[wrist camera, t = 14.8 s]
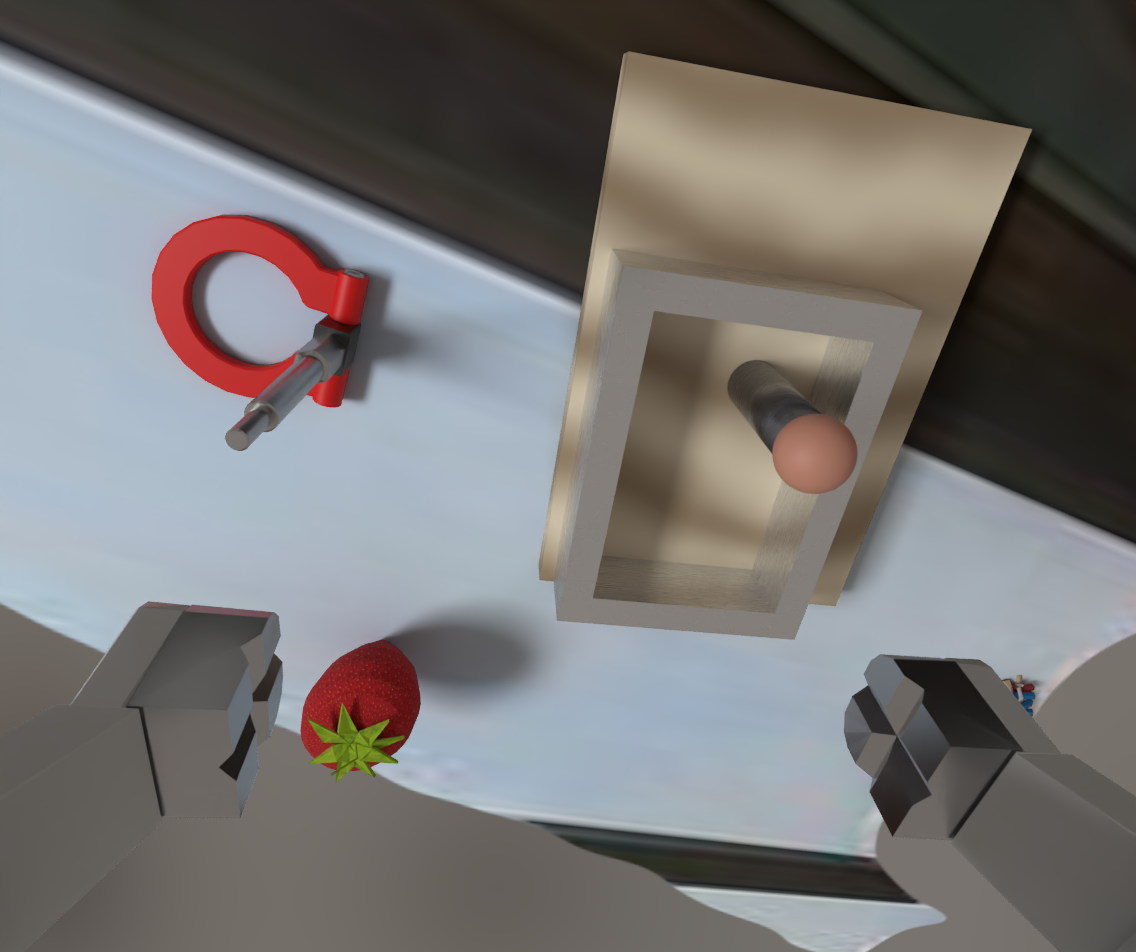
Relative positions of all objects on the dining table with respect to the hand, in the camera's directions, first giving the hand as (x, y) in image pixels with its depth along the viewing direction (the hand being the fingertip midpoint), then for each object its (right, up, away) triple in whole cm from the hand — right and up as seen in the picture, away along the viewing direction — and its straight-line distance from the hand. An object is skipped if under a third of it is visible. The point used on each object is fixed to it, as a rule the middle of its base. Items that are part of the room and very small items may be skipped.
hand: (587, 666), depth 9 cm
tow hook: (-15, +11, +24) cm, 30 cm away
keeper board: (+9, +8, +27) cm, 29 cm away
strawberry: (-12, -8, +33) cm, 36 cm away
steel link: (+7, +4, +27) cm, 28 cm away
